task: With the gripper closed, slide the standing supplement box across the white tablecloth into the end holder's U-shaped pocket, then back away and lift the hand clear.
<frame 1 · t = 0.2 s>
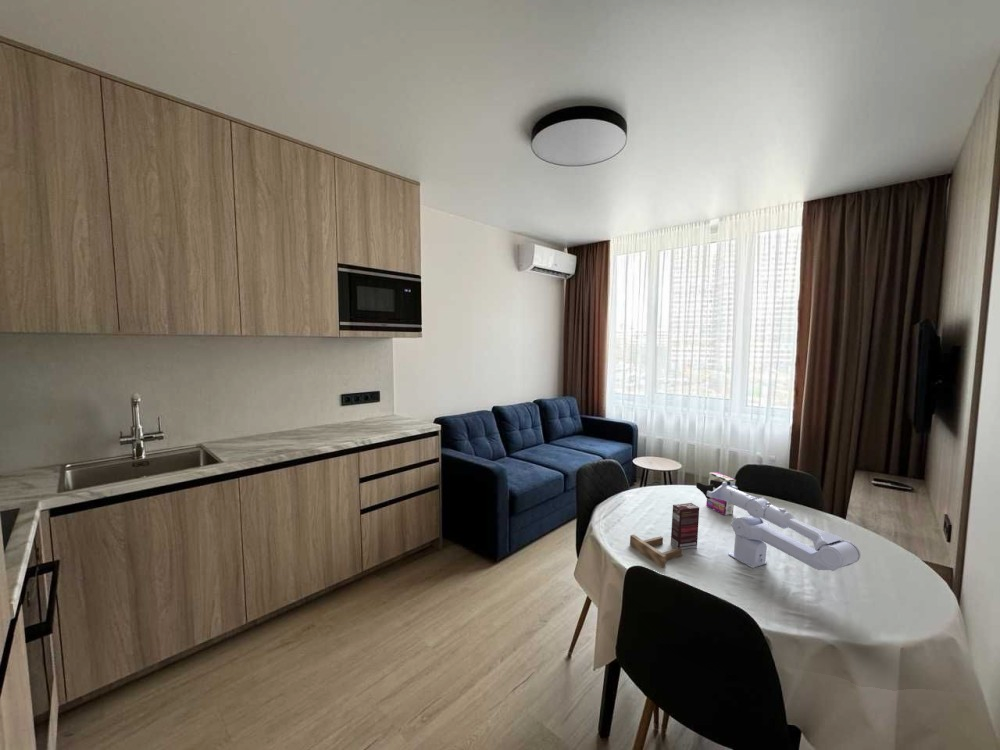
hand: (703, 483, 164), 21 cm above the table, tool horizontal, fingers open, 7 cm apart
supplement box: (683, 546, 157), on the table
end holder: (659, 551, 152), on the table
candy bar box: (719, 510, 190), on the table
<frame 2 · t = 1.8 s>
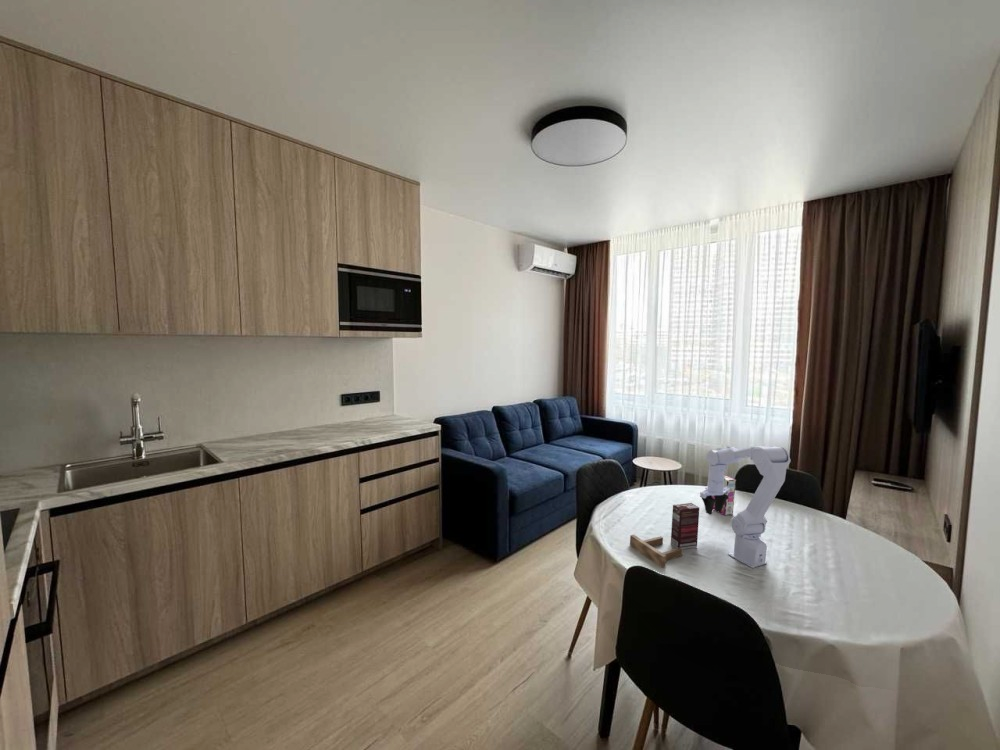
hand: (713, 512, 165), 9 cm above the table, tool pointing down, fingers open, 5 cm apart
nothing on the table moved.
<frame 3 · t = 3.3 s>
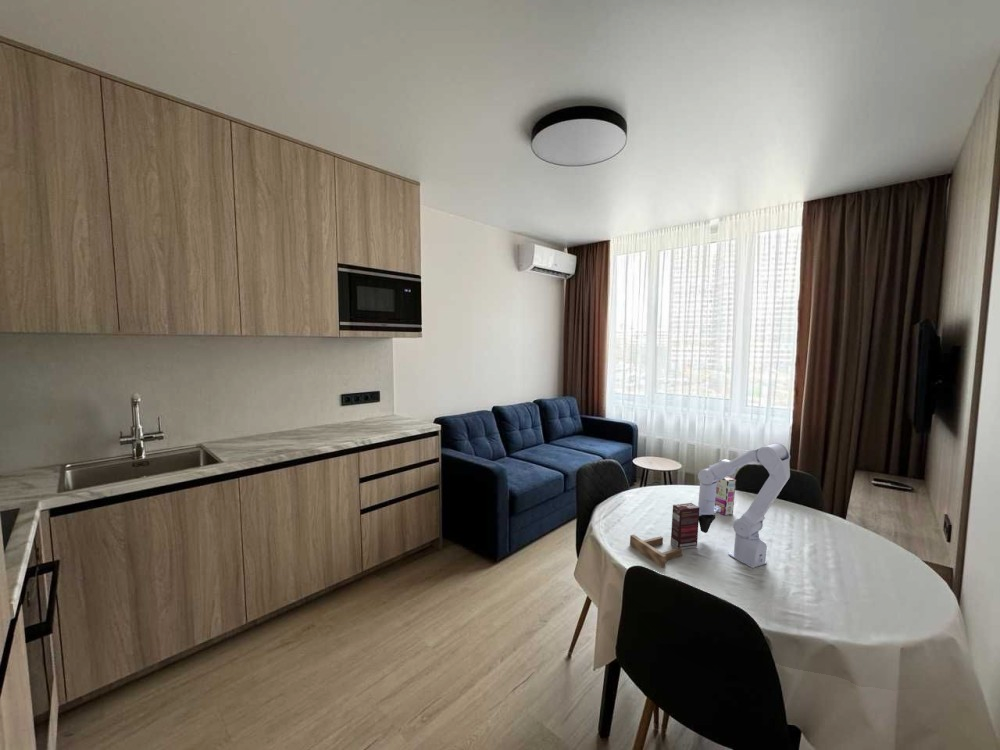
hand: (704, 531, 161), 3 cm above the table, tool pointing down, fingers closed
nothing on the table moved.
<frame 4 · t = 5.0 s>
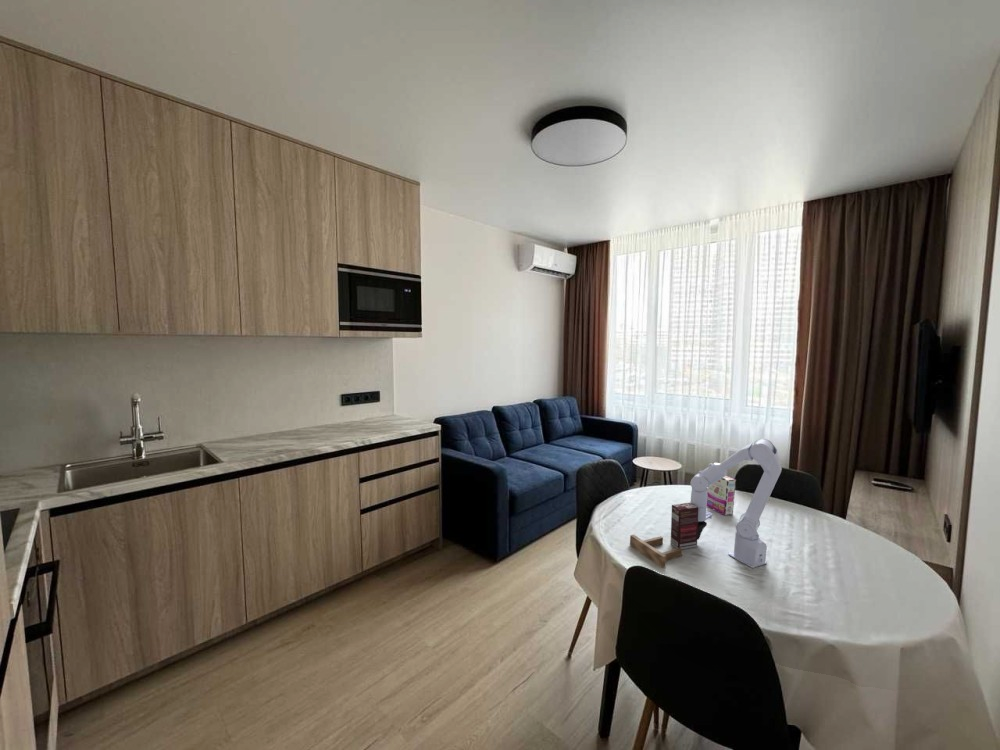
hand: (695, 538, 159), 2 cm above the table, tool pointing down, fingers closed
supplement box: (683, 545, 157), on the table, touching arm, gripper
everything else where it was.
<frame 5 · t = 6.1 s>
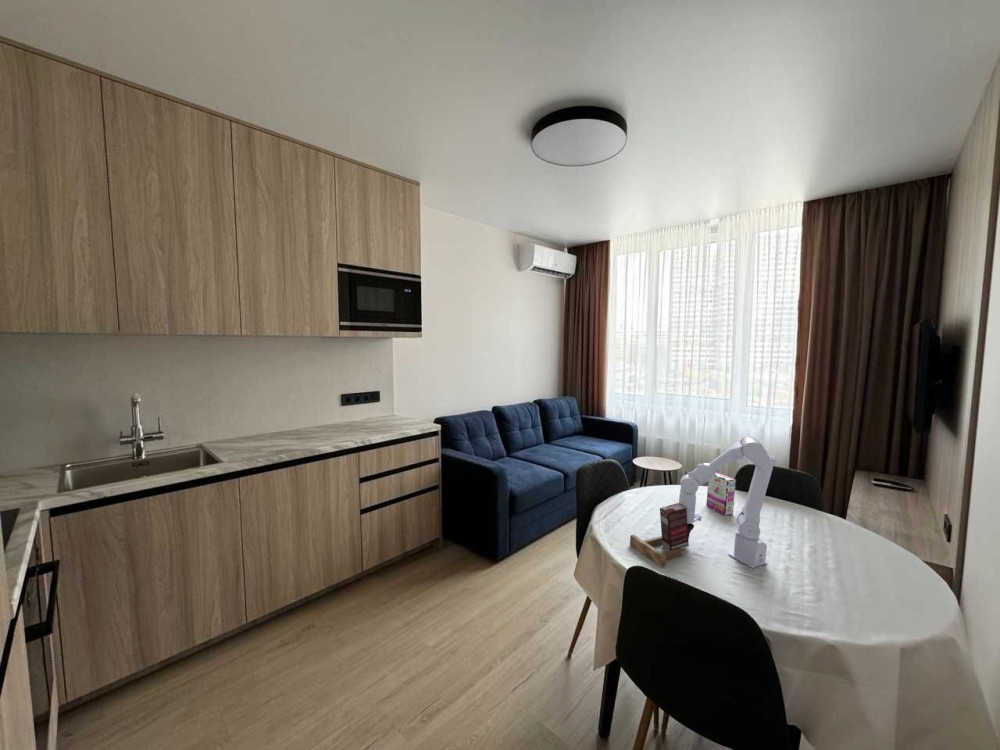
hand: (684, 540, 157), 2 cm above the table, tool pointing down, fingers closed, pressing on supplement box
supplement box: (675, 547, 155), on the table, touching arm, gripper
everything else where it was.
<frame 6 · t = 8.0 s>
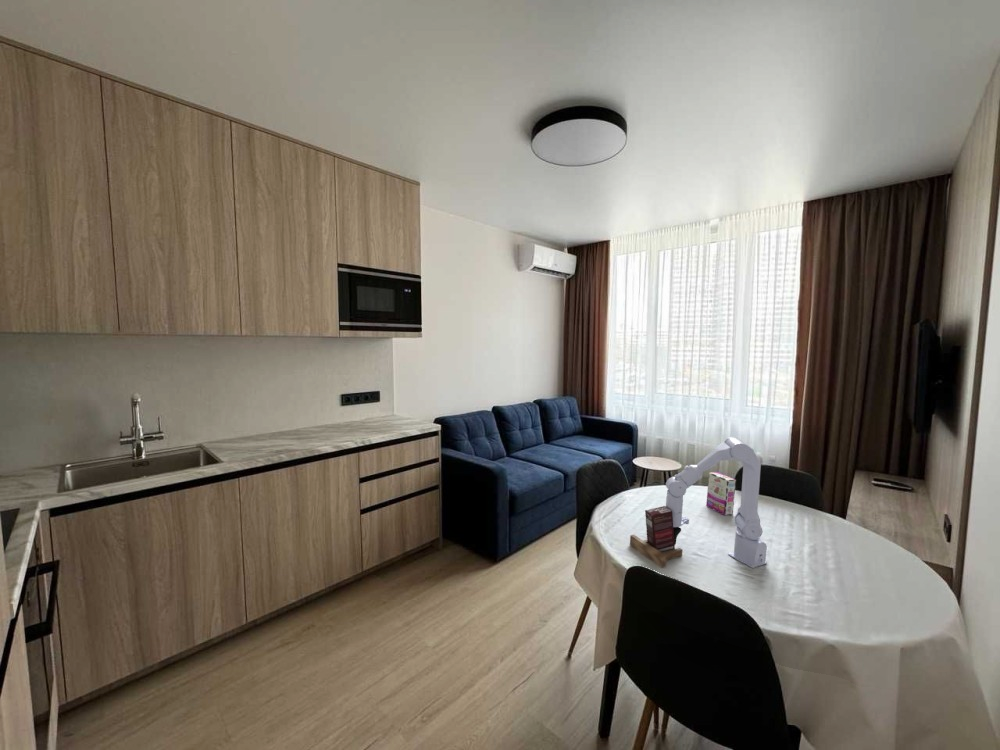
hand: (671, 544, 154), 2 cm above the table, tool pointing down, fingers closed, pressing on supplement box
supplement box: (660, 551, 152), resting in end holder, touching arm, gripper
everything else where it was.
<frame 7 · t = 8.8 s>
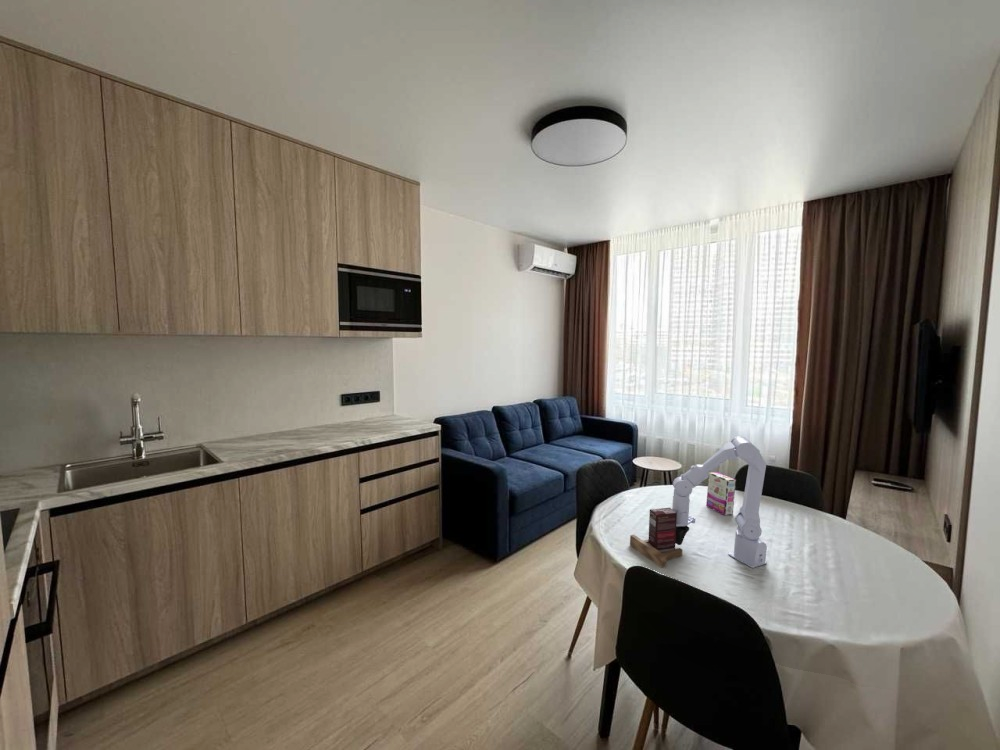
hand: (678, 543, 155), 1 cm above the table, tool pointing down, fingers closed
supplement box: (660, 552, 152), resting in end holder
everything else where it was.
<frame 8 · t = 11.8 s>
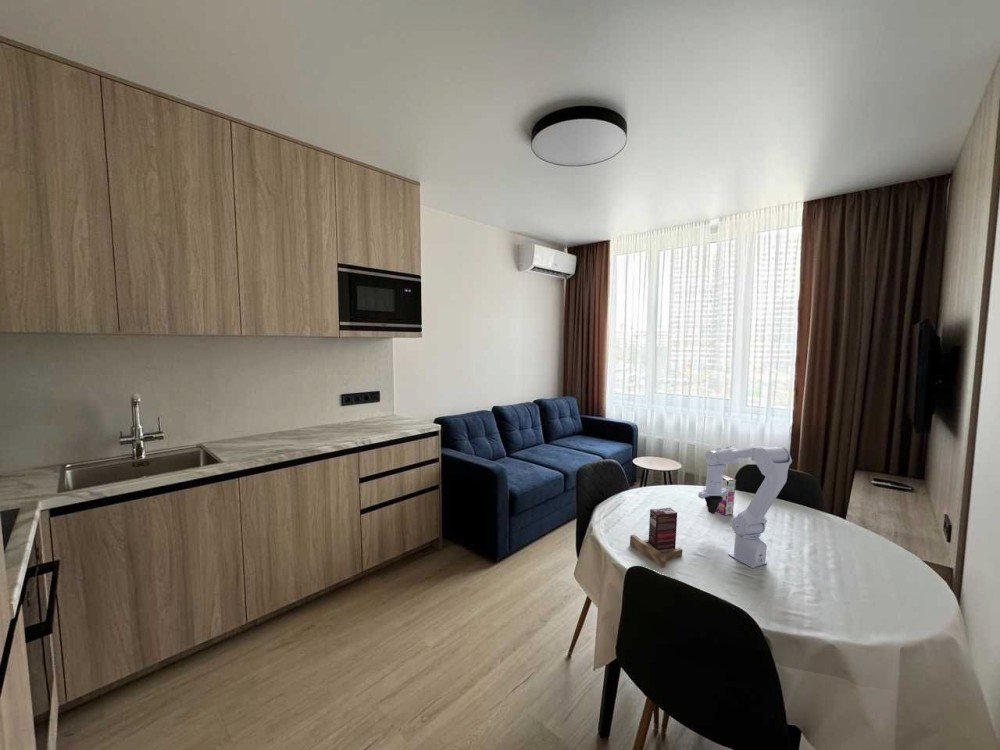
hand: (711, 512, 165), 9 cm above the table, tool pointing down, fingers closed
nothing on the table moved.
at the end: supplement box 0.5 cm off-centre on the end holder, point 0.0 cm above the end holder's base; supplement box tilted 0°; supplement box moved 11.5 cm from its start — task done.
